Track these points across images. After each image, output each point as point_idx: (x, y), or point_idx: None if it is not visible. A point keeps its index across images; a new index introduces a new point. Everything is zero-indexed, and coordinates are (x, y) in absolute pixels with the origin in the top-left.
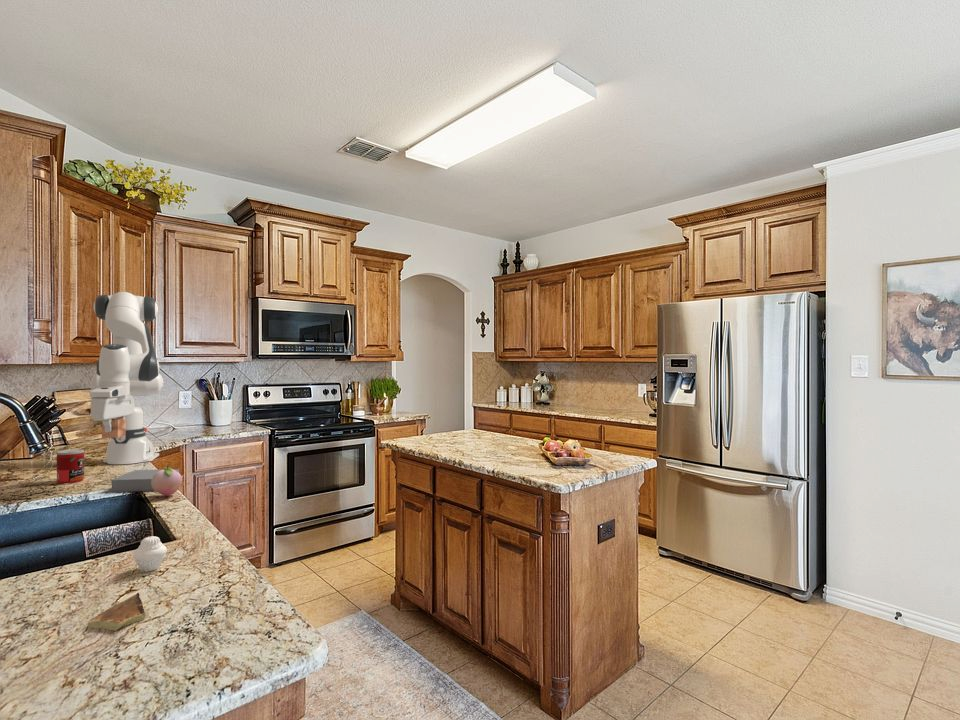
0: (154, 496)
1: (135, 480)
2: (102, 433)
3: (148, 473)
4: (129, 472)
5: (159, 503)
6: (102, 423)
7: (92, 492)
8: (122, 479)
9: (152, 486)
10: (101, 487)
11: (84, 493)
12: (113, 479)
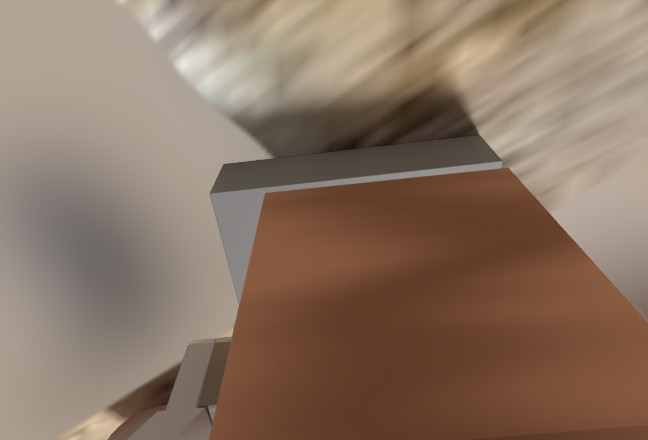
0: (175, 372)
1: (239, 299)
2: (256, 239)
3: None
4: (426, 170)
5: (91, 426)
6: (230, 382)
7: (202, 61)
8: (229, 243)
9: (114, 431)
10: (325, 29)
11: (173, 27)
12: (223, 195)
